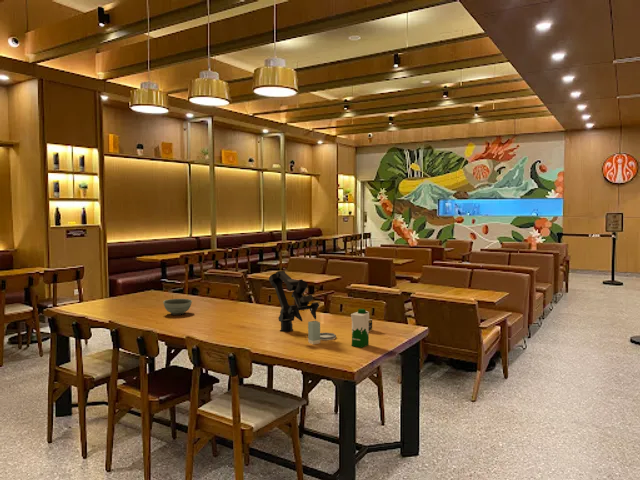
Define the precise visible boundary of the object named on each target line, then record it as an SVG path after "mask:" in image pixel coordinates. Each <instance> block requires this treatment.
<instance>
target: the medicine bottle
mask: <svg viewBox="0 0 640 480" xmlns="http://www.w3.org/2000/svg"><path fill="white" fill-rule="evenodd" d="M365 313H369V314H370V311H367V310H365ZM371 331H373V319H372V318H369V332H371Z"/></svg>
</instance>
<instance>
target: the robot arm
mask: <svg viewBox="0 0 640 480" xmlns="http://www.w3.org/2000/svg"><path fill="white" fill-rule="evenodd" d="M268 281H269V283H270V285H271V286H272V287H273V288H274V289H275V293H276V296H277V299H278V302H279V305H280V312H279V316H278V322H280V330H279V331H280V332H286V333H289V332H291V331H293V330H294V329H293V327H294V326H293V322H294V321H295V318H296V319H298V321H300V322H303V318H302V316H301V313H300V311H304V310H309V311H310V314H311V315H312V317H313V319H314V320H317V310H318V309H319V307H320V302H316V301H315V302H312V301H313V299H314V296H313V295H312V294H308V295H304V294H305V292H306V290H307V288H308V286H309V285H308V283H307V282H306V281H304V280H303V279H299V280H297V279H294V278H292V277H290V275H288V274H287V272H286V271H285V270H277V271H276V272H275V273H274V272H273V273H272V274H270V276H269V277H268ZM283 283H284V284H285V285H286V289H287V290H288V291H289V292H292V294H291V298H293V299H294V301H295V303H294V304H293V305H291V304H289V301H288V299H287V297H286V293H285V291H284V286H283ZM310 302H311V304H310ZM309 304H310V305H309Z"/></svg>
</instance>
